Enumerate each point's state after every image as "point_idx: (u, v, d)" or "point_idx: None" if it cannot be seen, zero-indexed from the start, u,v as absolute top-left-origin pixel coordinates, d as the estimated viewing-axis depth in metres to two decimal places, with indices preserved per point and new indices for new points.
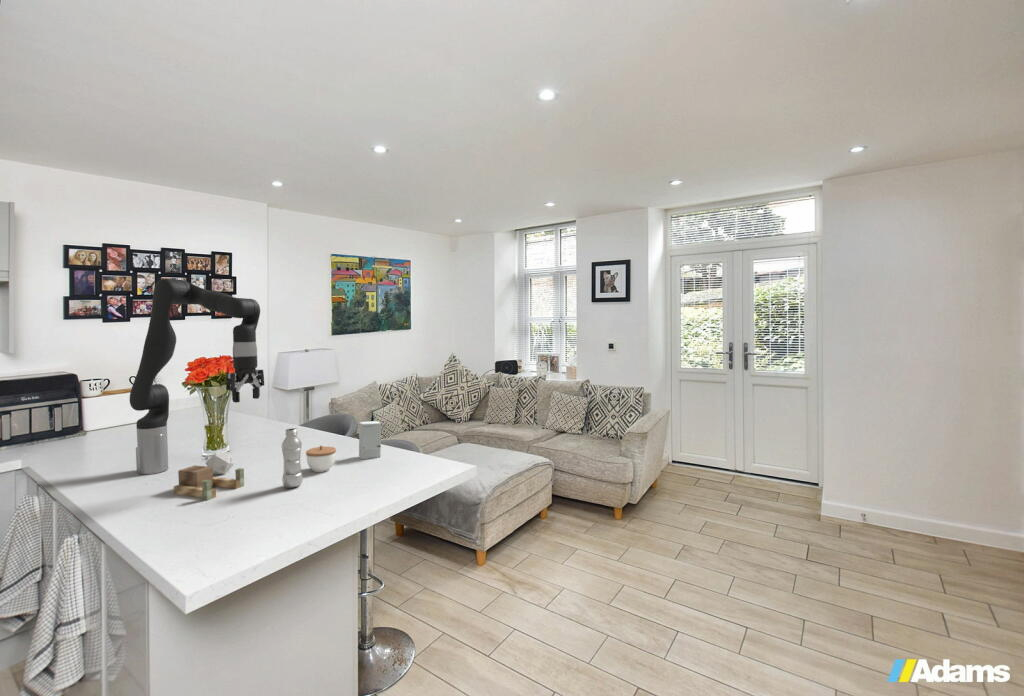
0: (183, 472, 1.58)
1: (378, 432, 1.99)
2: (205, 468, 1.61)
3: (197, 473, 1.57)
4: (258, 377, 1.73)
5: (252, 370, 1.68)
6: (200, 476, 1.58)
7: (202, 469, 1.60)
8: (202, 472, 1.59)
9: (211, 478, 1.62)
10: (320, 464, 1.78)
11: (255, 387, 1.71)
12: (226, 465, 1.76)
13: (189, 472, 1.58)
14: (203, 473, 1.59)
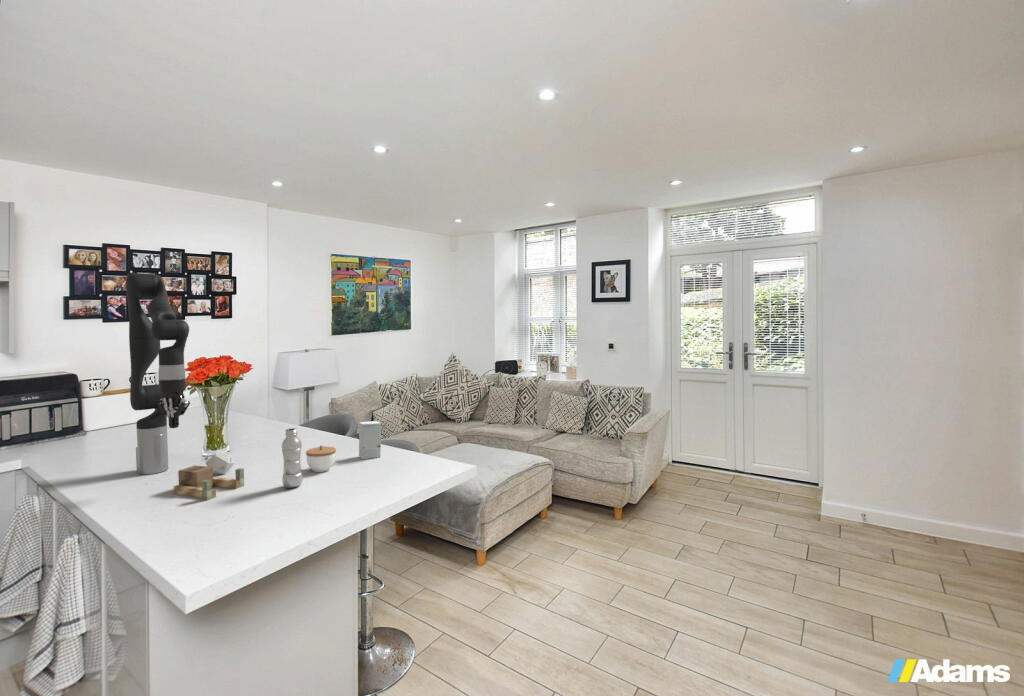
0: (183, 472, 1.58)
1: (378, 432, 1.99)
2: (205, 468, 1.61)
3: (197, 473, 1.57)
4: (164, 406, 1.63)
5: None
6: (200, 476, 1.58)
7: (202, 469, 1.60)
8: (202, 472, 1.59)
9: (211, 478, 1.62)
10: (320, 464, 1.78)
11: None
12: (226, 465, 1.76)
13: (189, 472, 1.58)
14: (203, 473, 1.59)
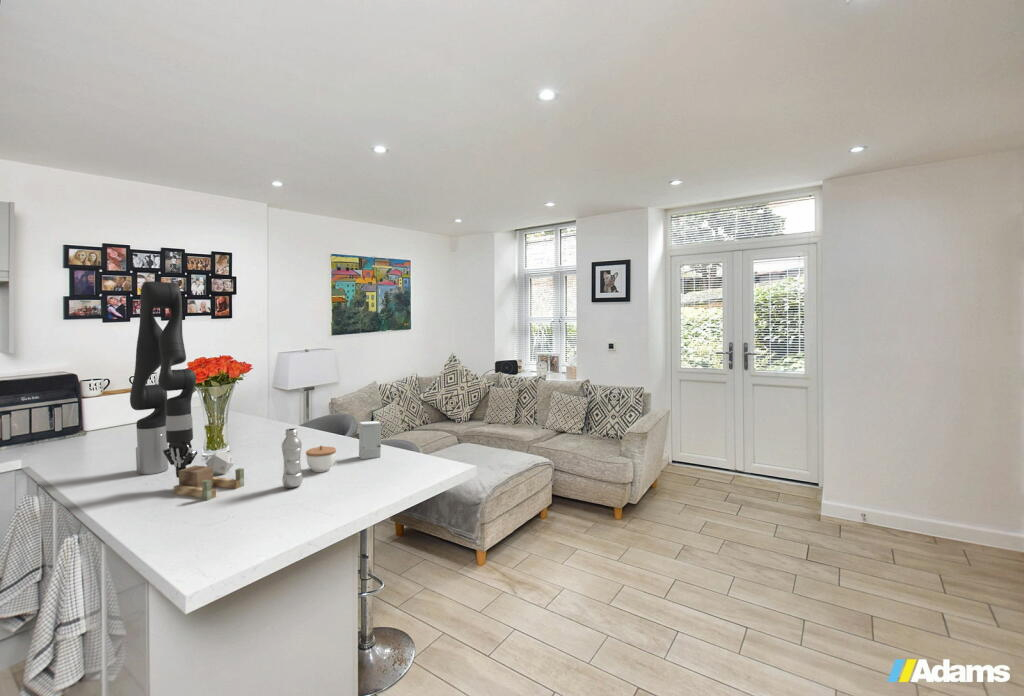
0: (183, 472, 1.58)
1: (378, 432, 1.99)
2: (205, 468, 1.61)
3: (197, 473, 1.57)
4: (172, 455, 1.63)
5: None
6: (200, 476, 1.58)
7: (202, 469, 1.60)
8: (202, 472, 1.59)
9: (211, 478, 1.62)
10: (320, 464, 1.78)
11: None
12: (226, 465, 1.76)
13: (189, 472, 1.58)
14: (204, 473, 1.59)
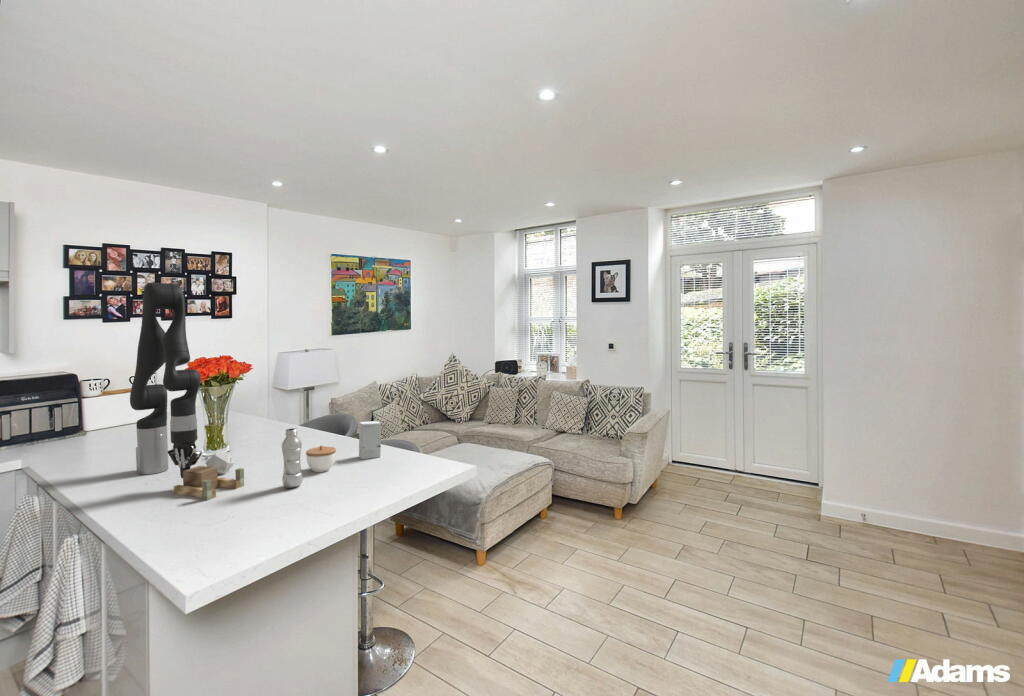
0: (188, 472, 1.58)
1: (378, 432, 1.99)
2: (210, 468, 1.61)
3: (201, 473, 1.56)
4: (176, 455, 1.63)
5: None
6: (205, 477, 1.58)
7: (207, 469, 1.59)
8: (207, 472, 1.58)
9: (215, 479, 1.62)
10: (320, 464, 1.78)
11: None
12: (226, 465, 1.76)
13: (194, 472, 1.57)
14: (208, 473, 1.59)
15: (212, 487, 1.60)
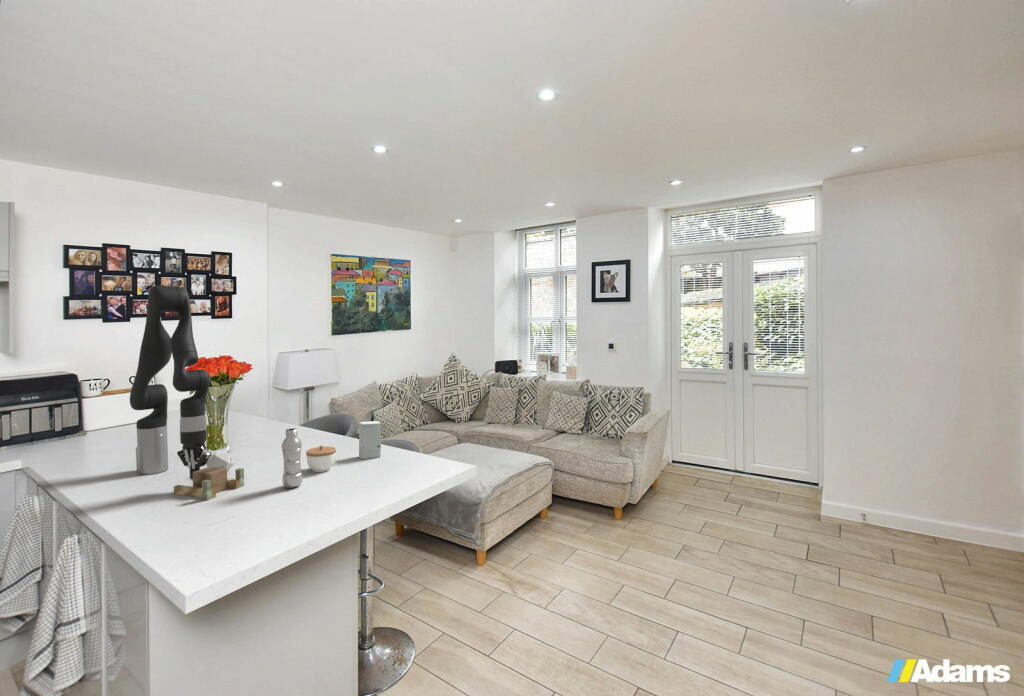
0: (197, 474, 1.57)
1: (378, 432, 1.99)
2: (219, 470, 1.59)
3: (211, 474, 1.55)
4: (185, 456, 1.61)
5: None
6: (215, 478, 1.56)
7: (216, 471, 1.58)
8: (216, 474, 1.57)
9: (225, 480, 1.60)
10: (320, 464, 1.78)
11: None
12: (226, 465, 1.76)
13: (203, 474, 1.56)
14: (218, 474, 1.58)
15: (222, 488, 1.59)
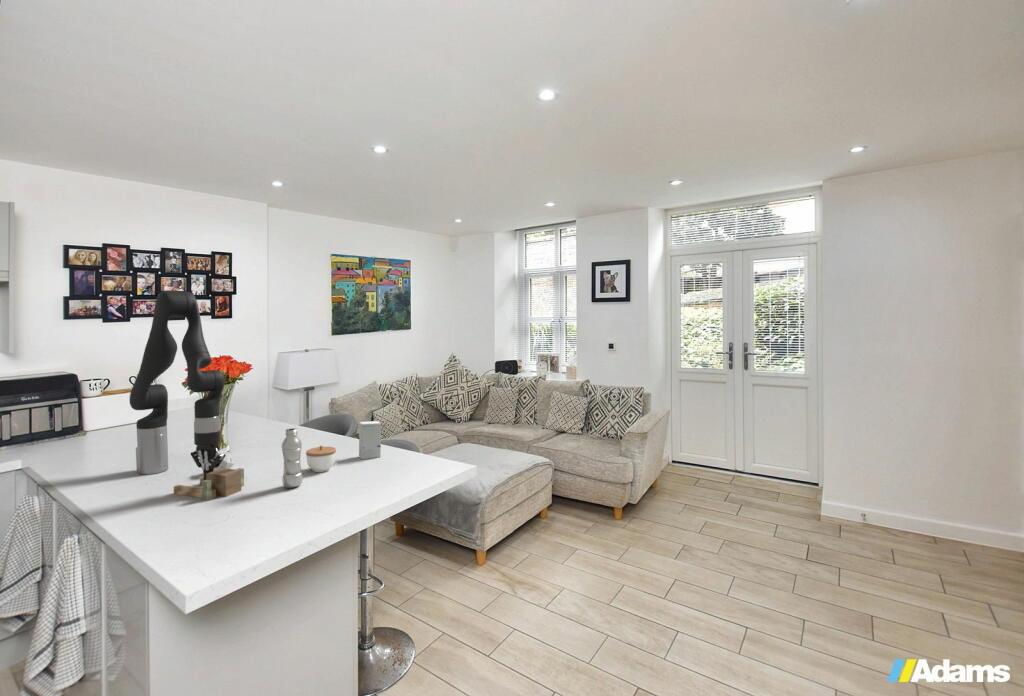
0: (211, 475, 1.55)
1: (378, 432, 1.99)
2: (233, 471, 1.58)
3: (226, 476, 1.54)
4: (199, 457, 1.60)
5: None
6: (229, 479, 1.55)
7: (230, 472, 1.57)
8: (231, 475, 1.55)
9: (239, 481, 1.59)
10: (320, 464, 1.78)
11: None
12: (226, 465, 1.76)
13: (217, 475, 1.54)
14: (232, 476, 1.56)
15: (236, 490, 1.58)
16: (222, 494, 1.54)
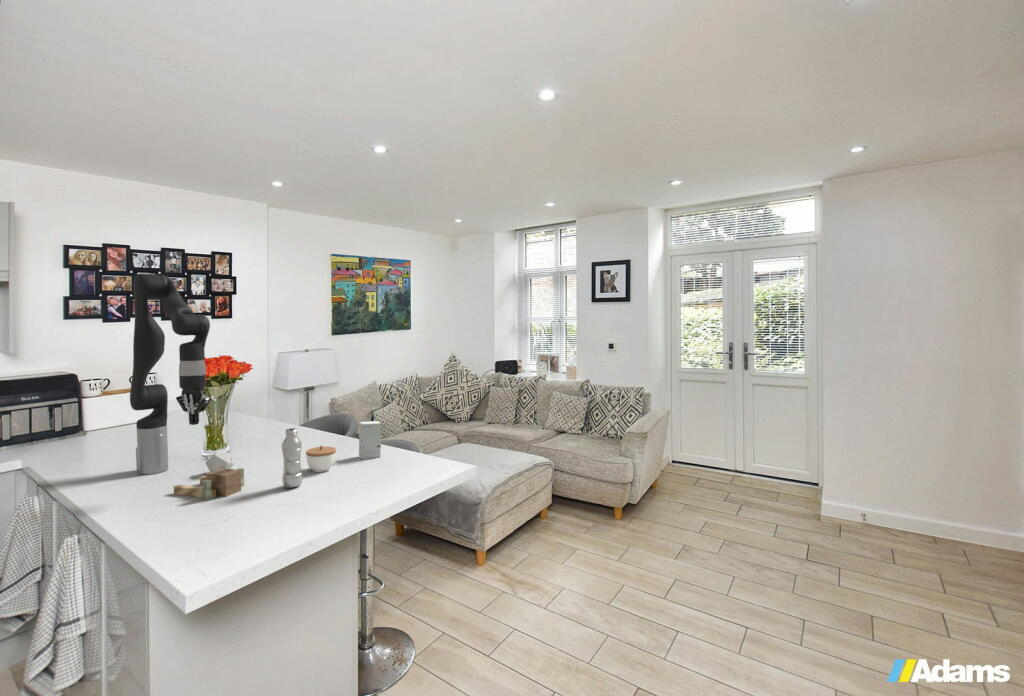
0: (211, 475, 1.55)
1: (378, 432, 1.99)
2: (233, 471, 1.58)
3: (225, 476, 1.54)
4: (184, 402, 1.60)
5: None
6: (229, 479, 1.55)
7: (230, 472, 1.57)
8: (230, 475, 1.55)
9: (239, 481, 1.59)
10: (320, 464, 1.78)
11: None
12: (226, 465, 1.76)
13: (217, 475, 1.54)
14: (232, 476, 1.56)
15: (236, 490, 1.58)
16: (222, 494, 1.54)
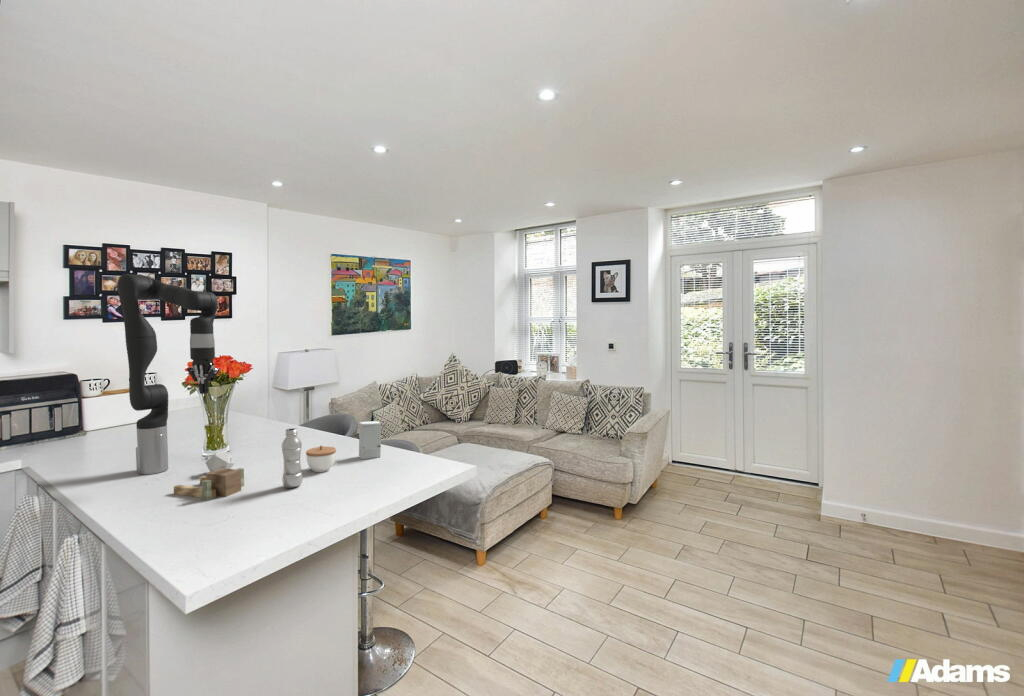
0: (211, 475, 1.55)
1: (378, 432, 1.99)
2: (233, 471, 1.58)
3: (225, 476, 1.54)
4: (195, 373, 1.73)
5: None
6: (229, 479, 1.55)
7: (230, 472, 1.57)
8: (230, 475, 1.55)
9: (239, 481, 1.59)
10: (320, 464, 1.78)
11: None
12: (226, 465, 1.76)
13: (217, 475, 1.54)
14: (232, 476, 1.56)
15: (236, 490, 1.58)
16: (222, 494, 1.54)
